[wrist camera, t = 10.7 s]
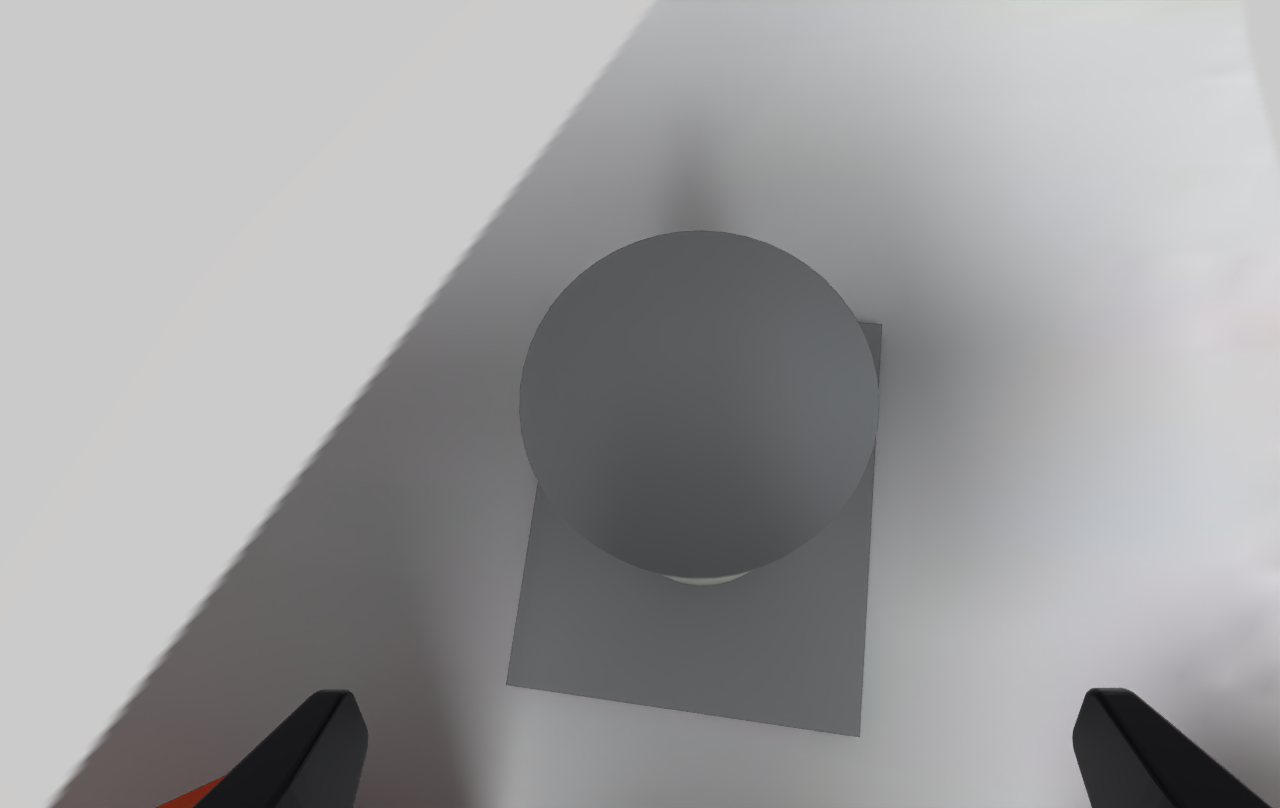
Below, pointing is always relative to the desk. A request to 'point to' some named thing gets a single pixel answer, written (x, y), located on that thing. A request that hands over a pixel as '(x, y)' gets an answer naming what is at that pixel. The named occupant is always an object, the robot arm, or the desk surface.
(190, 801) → the file binder
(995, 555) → the desk surface
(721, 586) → the charcoal pad
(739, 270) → the tin canister
